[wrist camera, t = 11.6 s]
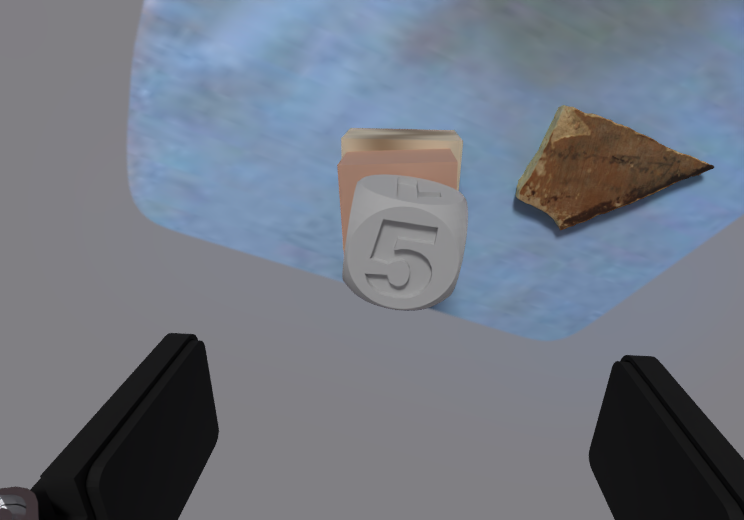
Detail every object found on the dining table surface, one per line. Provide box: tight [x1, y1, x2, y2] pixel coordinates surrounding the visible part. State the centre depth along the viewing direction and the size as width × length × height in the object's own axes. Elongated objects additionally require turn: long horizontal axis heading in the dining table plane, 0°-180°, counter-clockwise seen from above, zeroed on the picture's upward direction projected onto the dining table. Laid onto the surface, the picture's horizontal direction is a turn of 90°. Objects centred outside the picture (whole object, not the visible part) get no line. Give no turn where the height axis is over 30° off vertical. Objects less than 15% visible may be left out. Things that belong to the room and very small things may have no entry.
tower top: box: [337, 148, 458, 253], centre depth 25 cm, size 6×6×4 cm
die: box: [343, 174, 468, 311], centre depth 21 cm, size 5×5×5 cm
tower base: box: [341, 128, 463, 250], centre depth 29 cm, size 7×7×5 cm
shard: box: [516, 105, 714, 230], centre depth 30 cm, size 11×8×2 cm
